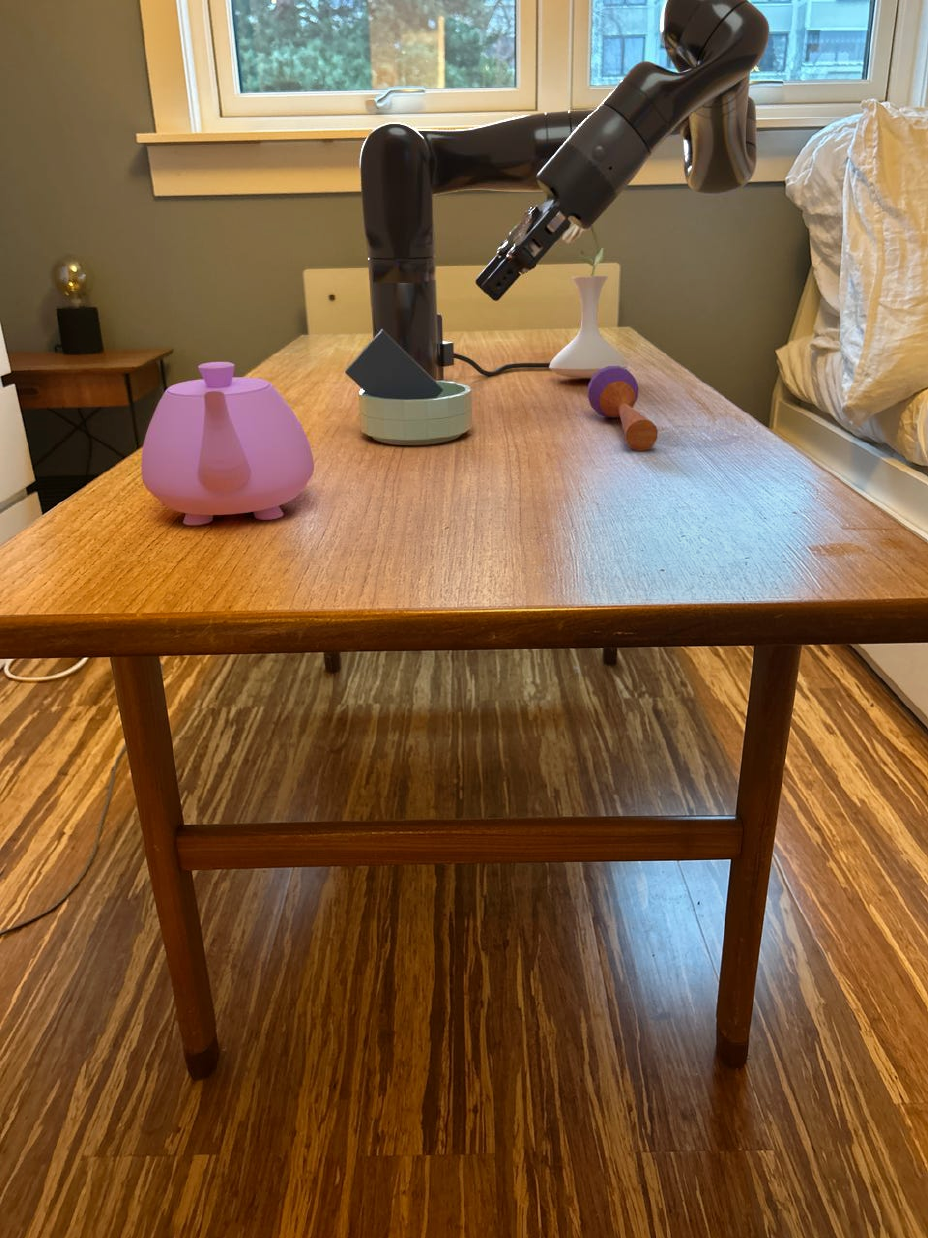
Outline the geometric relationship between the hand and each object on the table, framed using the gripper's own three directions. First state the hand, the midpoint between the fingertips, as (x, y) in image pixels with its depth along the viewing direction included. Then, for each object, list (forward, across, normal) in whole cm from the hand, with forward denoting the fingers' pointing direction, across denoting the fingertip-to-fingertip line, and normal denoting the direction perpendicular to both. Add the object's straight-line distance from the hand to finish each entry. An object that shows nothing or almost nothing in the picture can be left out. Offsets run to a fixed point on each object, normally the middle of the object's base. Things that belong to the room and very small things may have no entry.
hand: (484, 291), depth 96 cm
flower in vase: (-2, +30, -23) cm, 38 cm away
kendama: (0, -1, -22) cm, 22 cm away
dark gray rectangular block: (+14, 0, -3) cm, 14 cm away
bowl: (+16, 0, -5) cm, 17 cm away
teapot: (+28, -26, +7) cm, 39 cm away
